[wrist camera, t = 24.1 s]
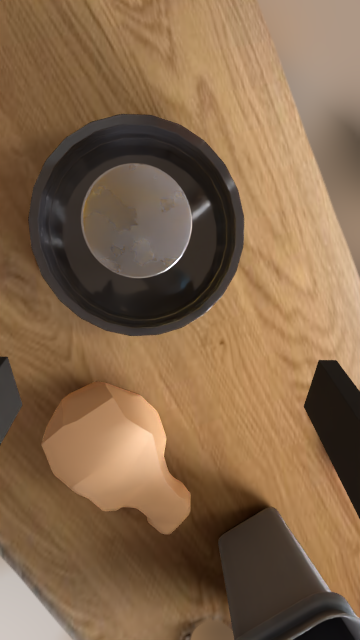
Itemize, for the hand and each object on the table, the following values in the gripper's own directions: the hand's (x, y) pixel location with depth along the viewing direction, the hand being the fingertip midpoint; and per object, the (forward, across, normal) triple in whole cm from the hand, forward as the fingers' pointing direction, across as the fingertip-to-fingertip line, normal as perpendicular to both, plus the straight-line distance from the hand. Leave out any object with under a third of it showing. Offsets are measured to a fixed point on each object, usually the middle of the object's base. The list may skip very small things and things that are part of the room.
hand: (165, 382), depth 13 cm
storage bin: (+9, +14, -40) cm, 43 cm away
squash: (+14, -4, -21) cm, 26 cm away
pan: (+21, -3, +1) cm, 21 cm away
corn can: (+21, -3, +1) cm, 21 cm away
